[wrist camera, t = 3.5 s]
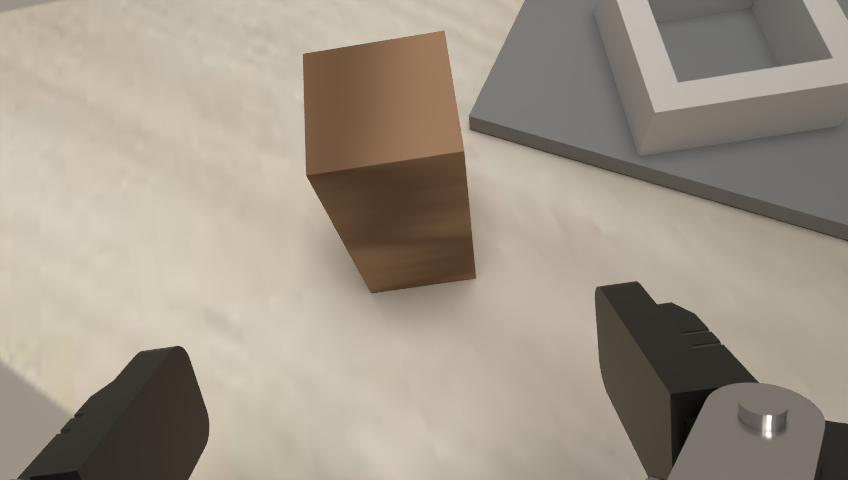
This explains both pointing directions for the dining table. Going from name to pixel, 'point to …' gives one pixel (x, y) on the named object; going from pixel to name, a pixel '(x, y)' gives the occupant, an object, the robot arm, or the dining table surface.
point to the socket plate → (594, 132)
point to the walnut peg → (390, 159)
